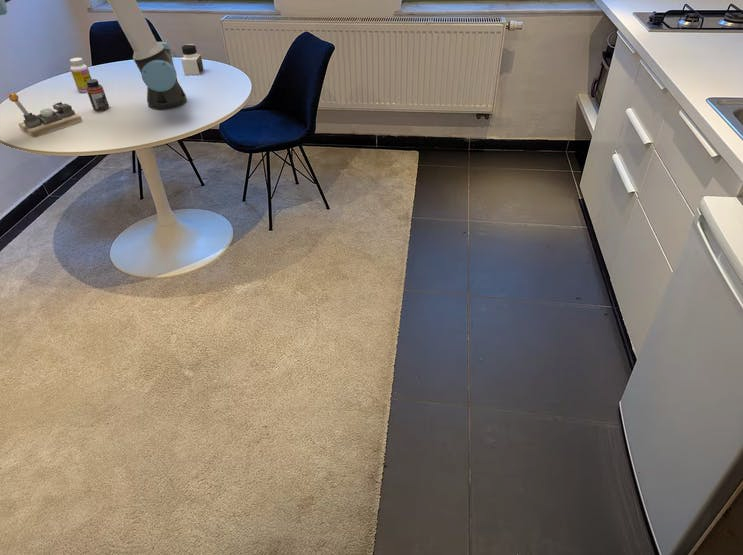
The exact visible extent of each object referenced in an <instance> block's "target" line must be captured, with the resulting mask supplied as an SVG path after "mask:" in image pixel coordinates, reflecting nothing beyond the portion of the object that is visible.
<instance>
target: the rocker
mask: <svg viewBox="0 0 743 555" xmlns="http://www.w3.org/2000/svg"><path fill="white" fill-rule="evenodd" d="M67 105H68V106H69V109H70V110H73V107H72V106H71V105H70V104H68V103H62V104H58V105H55V104H53V105H52V110H54V111H55V110H56V111H63V110H62V108H61V107H64V106H67Z"/></svg>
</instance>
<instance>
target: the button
mask: <svg viewBox="0 0 743 555" xmlns="http://www.w3.org/2000/svg"><path fill="white" fill-rule="evenodd" d="M52 110H53V108H43V109H41V110H40V111H39V112H40V113H39V114H41V115H42V117H43V118H47V117H50V116H54V114H53V111H54V110H53V111H52Z"/></svg>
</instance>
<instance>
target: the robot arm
mask: <svg viewBox="0 0 743 555" xmlns="http://www.w3.org/2000/svg"><path fill="white" fill-rule="evenodd" d="M11 1H12V0H0V16H4V15H7V14H8V6H7V3H9V2H11ZM106 2H107V4H108V6H109V7H110V9H111V10H112V13H113V14H114V16H115V18H116V20H117V22H118V24H119V26H120V28H121V29H122V31H123V33H124V35H125V37H126V39H127V41H128V42H129V45H130V46H131V48H132V50H133V55H132V59H133V61H134V63H135V64H136V67H137V68H138V70H139V72H140V74H141V79H142V81H143V83H144V84H145V86H147V88H146V90H147V91H146V103H147V105H148V108H150V109H152V110H159V111H162V110H163V111H164V110H172V109H175V108H179V107H181V106H183V105H185V104H186V103H187V101H188V99H187V95H186V93H185V91H184V90H183V87H182V86H181V84H180V83H179V81H178V78H177V76H178V75H177V71H176V68H175V64H174V60H173V56H172V53H171V48H170V45H169V43H168V42H166V41H157V40H156V38H155V35H154V34H153V32H152V30H151V28H150V26H149V24H148V21H147V20H146V18H145V16H144V14H143V12H142V10H141V7H140V6H139V3H138V1H137V0H106Z"/></svg>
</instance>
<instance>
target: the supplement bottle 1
mask: <svg viewBox="0 0 743 555" xmlns="http://www.w3.org/2000/svg"><path fill="white" fill-rule="evenodd" d="M69 62H70V64H71V66H70V67H69V68H70V72H71V75H72V78H73V81H74V84H75V86H76V89H77V91H78V92H79V93H87V90H86V88H87V86H88V85H87V80H90V79H92V76H91V74H90V70H89V68H88V66H87V65H86V64H84V60H83V58H82V57H74V58H70V59H69Z"/></svg>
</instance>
